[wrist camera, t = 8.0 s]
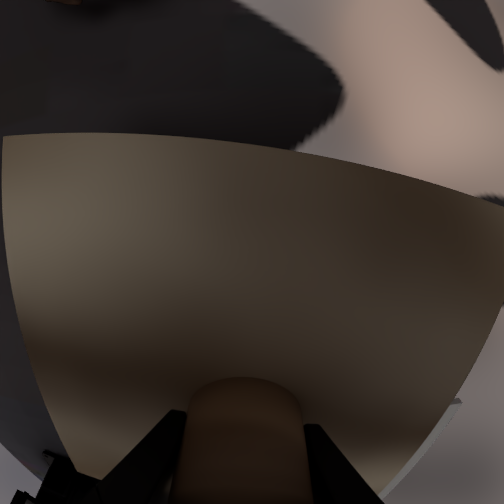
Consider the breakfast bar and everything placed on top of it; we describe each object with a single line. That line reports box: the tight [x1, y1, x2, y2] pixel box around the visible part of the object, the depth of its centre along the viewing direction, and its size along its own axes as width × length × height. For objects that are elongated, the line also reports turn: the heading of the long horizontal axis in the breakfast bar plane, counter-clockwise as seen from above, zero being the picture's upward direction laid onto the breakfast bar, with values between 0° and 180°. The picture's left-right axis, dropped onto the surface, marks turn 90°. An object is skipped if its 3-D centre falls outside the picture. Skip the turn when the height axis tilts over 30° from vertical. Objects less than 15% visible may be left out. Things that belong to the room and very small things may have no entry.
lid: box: [2, 133, 504, 504], centre depth 7 cm, size 14×14×5 cm
